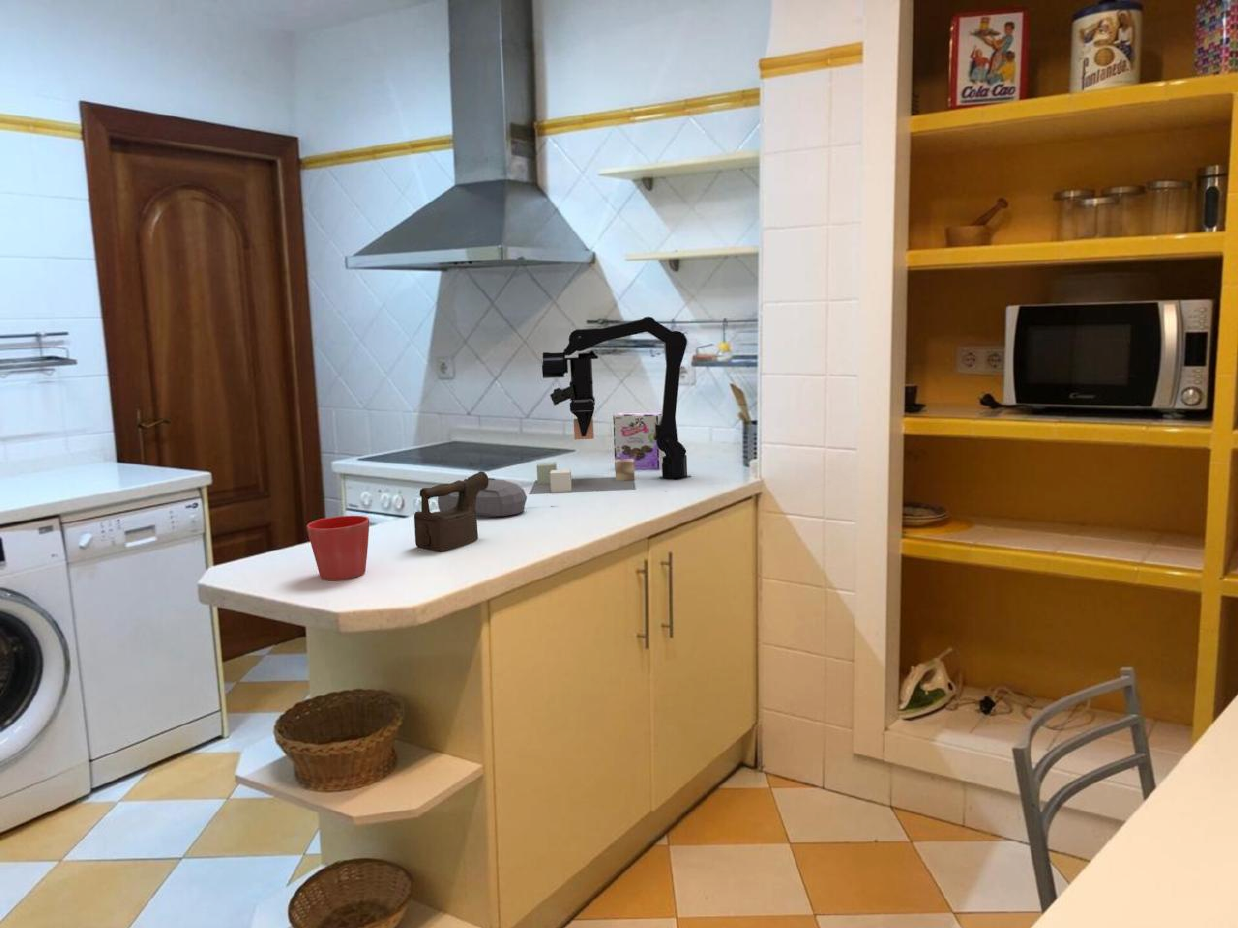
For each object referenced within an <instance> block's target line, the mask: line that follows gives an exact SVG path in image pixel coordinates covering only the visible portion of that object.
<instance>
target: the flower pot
mask: <svg viewBox="0 0 1238 928" xmlns="http://www.w3.org/2000/svg"><path fill="white" fill-rule="evenodd" d="M306 530H307V534H308V539H309V542H310V544H311V549H312V551H313V556H314V559H315V560H314V561H315V563H316V567H317V570H318V572H319V577H320V578H321V579H322V580H326V581H342V580H349V579H354V578H355V577H360V576H362V575H364V574H365V573H366V569H367V568H366V567H367V560H368V559H367V558H368V548H369V533H370V518H369V517H367V516H364V515H363V516H362V515H345V516H334V517H327V518H321V519H320V518H319V519H317V520H313V521H312V522H309V523H308V524H306Z"/></svg>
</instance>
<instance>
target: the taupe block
mask: <svg viewBox="0 0 1238 928" xmlns="http://www.w3.org/2000/svg"><path fill="white" fill-rule="evenodd" d="M571 479H572V469H571V468H569V469H557V470H551V472H550V480H551V493H550V494H556V493H555V492H569V493H572V492H571V489H572V485H571Z"/></svg>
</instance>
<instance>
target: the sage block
mask: <svg viewBox="0 0 1238 928" xmlns="http://www.w3.org/2000/svg"><path fill="white" fill-rule="evenodd" d="M551 470H558V468H557V462H556V461H553V462H549V461H548V462H537V464H536V478H537V479H536V480H537V484H551V480H550V472H551Z"/></svg>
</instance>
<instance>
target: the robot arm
mask: <svg viewBox="0 0 1238 928" xmlns="http://www.w3.org/2000/svg"><path fill="white" fill-rule="evenodd" d="M643 333H648V334H650V335H651V336H653V337H655V338H656V339H657V340H659V341H660V342H662V343H663V349H664V358H665V359H664V360H665V374H664V375H665V376H664V386H663V387H664V388H663V398H662V406H661V407H662V409H661V413H662V416H661V420H660V423H654V424H655V433H654V435H653V438H654V440H656V444H657V446H658V448H659V449H660V450H661V451H663V452H664V453H665V456H664V457H662V458H663V463H662V469H661V472H662V474H661V476H658V478H659V479H663V480H665V479H666V480H672V481H679V480H682V479H687V478H688V479H689V478H692V475H688V467H687V465H688V462H687V459H688V458H687V450H686V448H685V446H684V445H683V444H682V443H681V442H679V436H678V429H677V419H676V418H677V417H676V415H677V405H678V397H679V396H678V395H679V393H678V392H679V383H680V374H681V373H680V372H681V365H682V362H683V359H684V355H685V352H686V348H687V343H688V340H687V339H688V338H687V337H686V335H685V334H684V333H683V332H681V331H678V330H671V329H670V328H667V327H666V326H664V325H662V324H661V323H659V322H658V321H657V320H655V318H653V317H651V316H645V317H643V318H640V319H635V320H631V321H627V322H622V323H618V324H613V325H610V326H605V327H604V326H603V327H597V328H596V327H591V328H578V329H574V330H573V331H571V332H570V334H569V336H568V344H567V345H566V347H565V348H563V352H562V351H561V352H550V351H549V352H548V351H547V352H545V351H543V352H542V364H541V372H542V378H543V379H549V378H550V379H551V378H565V374H568V373H569V371H570V381H569V386H566V387H564V388H560V387H558V388H555V389H553V393H550V394H549V396H550V399H551V400H552V403H553V405H554V407H555V406H558V405H560V404H561V403H563V402H565V401H567V400H569V401H570V402H569V411H570V413H572V414H573V415H574V416H575V417H576V419H578V423H579V427H580V431H581V435H582V436H586V434H587V431H588V428H589V425H590V422H591V418H593V415H594V412H595V406H596V398H595V397H594V390H593V389H594V386H593V384H594V383H593V382H594V381H593V367H592V365H593V364H592V362H593V360H596V359H599V356H598V354H596V353H595V351H594V350H593V349H591V350H590V351H589V352H583V351H585V350H588V349H590V348H592V347H595V346H597V345H600V344H601V343H604V342H608V341H612V340H616V339H621V338H624V337H628V336H633V335H634V336H635V335H638V334H643ZM576 351H577V352H579V353H578V357H577V356H575V357H572V356H571V355H573V354H574V353H575V352H576ZM580 352H581V353H580ZM566 356H571V357H566ZM568 361H569V362H568ZM568 363H569V364H568ZM569 365H570V367H569ZM569 368H570V370H569Z"/></svg>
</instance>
